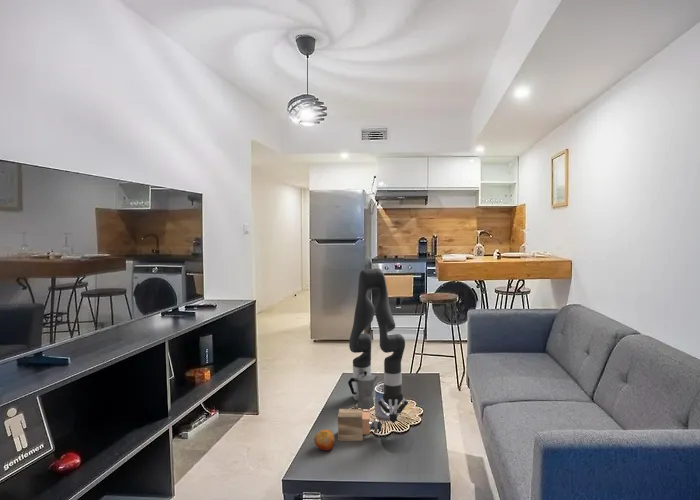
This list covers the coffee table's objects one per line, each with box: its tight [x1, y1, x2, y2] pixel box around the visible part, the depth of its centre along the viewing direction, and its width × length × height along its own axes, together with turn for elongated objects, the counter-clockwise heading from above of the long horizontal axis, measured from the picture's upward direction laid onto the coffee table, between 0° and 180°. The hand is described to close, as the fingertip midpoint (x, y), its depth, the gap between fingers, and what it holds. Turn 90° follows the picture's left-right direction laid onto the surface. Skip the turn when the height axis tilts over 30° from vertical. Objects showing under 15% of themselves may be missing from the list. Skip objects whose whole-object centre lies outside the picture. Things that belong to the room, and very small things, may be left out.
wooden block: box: [337, 408, 364, 442], centre depth 183 cm, size 8×10×10 cm
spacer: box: [362, 411, 371, 435], centre depth 182 cm, size 7×3×6 cm, turn 177°
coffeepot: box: [347, 371, 379, 409], centre depth 210 cm, size 15×9×18 cm, turn 107°
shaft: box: [370, 418, 383, 434], centre depth 183 cm, size 6×18×6 cm, turn 87°
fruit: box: [313, 428, 335, 451], centre depth 174 cm, size 8×8×8 cm
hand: (393, 421), depth 183 cm, fingers closed
